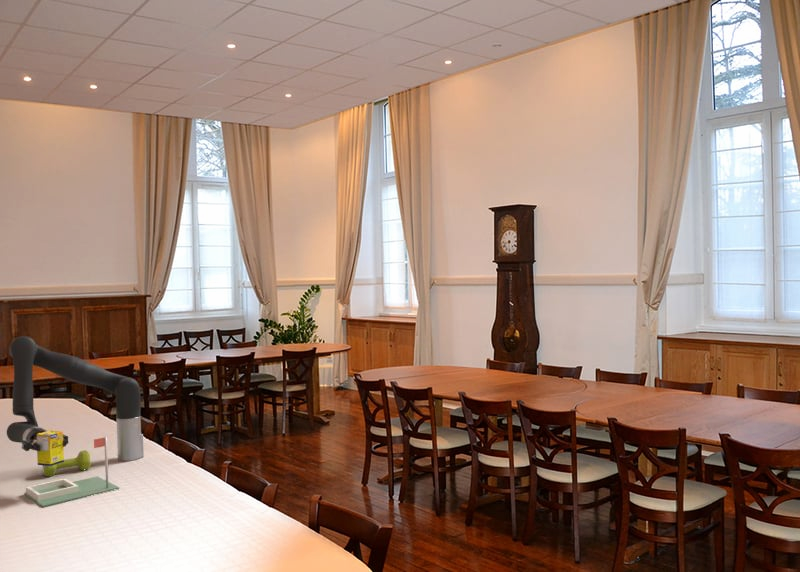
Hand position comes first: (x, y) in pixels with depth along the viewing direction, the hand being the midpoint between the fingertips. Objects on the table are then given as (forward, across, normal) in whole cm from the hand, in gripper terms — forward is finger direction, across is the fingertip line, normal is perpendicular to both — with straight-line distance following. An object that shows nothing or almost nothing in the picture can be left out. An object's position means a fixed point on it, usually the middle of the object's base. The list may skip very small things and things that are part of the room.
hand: (52, 445), depth 234 cm
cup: (+1, +6, +17) cm, 18 cm away
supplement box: (-2, 0, +7) cm, 7 cm away
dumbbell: (-26, +13, +18) cm, 34 cm away
